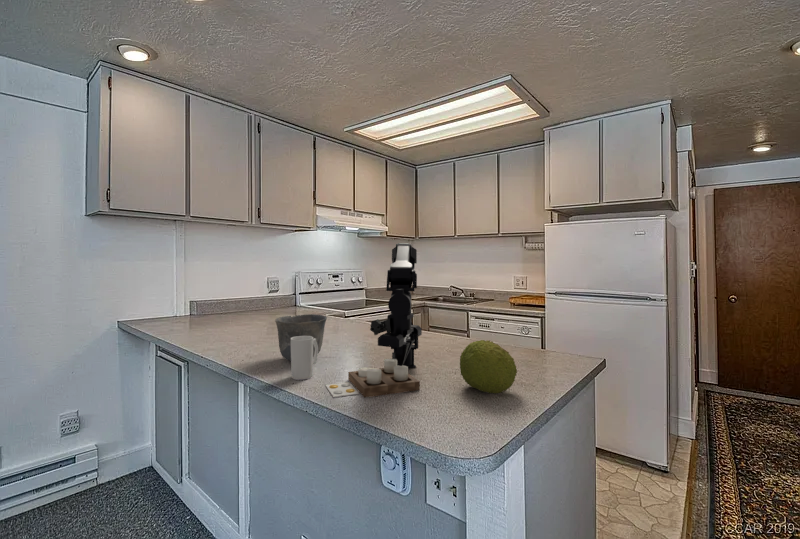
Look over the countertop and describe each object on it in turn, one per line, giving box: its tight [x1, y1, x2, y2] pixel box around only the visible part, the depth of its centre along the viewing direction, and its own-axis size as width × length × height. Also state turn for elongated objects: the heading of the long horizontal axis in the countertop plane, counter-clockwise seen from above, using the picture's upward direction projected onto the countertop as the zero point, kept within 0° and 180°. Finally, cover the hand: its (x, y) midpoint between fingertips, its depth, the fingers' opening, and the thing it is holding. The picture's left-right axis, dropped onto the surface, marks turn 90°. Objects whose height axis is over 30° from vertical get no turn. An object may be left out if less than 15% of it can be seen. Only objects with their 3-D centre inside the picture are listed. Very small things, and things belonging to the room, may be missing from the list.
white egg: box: [357, 367, 371, 378], centre depth 115 cm, size 4×4×3 cm
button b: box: [394, 365, 409, 381], centre depth 111 cm, size 4×4×3 cm
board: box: [347, 367, 421, 399], centre depth 113 cm, size 16×16×2 cm
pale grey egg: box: [383, 358, 397, 373], centre depth 118 cm, size 4×4×3 cm
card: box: [325, 381, 360, 399], centre depth 109 cm, size 7×10×1 cm
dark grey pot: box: [274, 313, 327, 362], centre depth 140 cm, size 18×18×15 cm
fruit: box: [459, 339, 518, 394], centre depth 109 cm, size 16×14×15 cm
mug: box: [290, 336, 319, 381], centre depth 122 cm, size 10×7×12 cm, turn 147°
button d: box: [367, 367, 381, 384], centre depth 108 cm, size 4×4×3 cm
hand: (400, 365), depth 111 cm, fingers closed
